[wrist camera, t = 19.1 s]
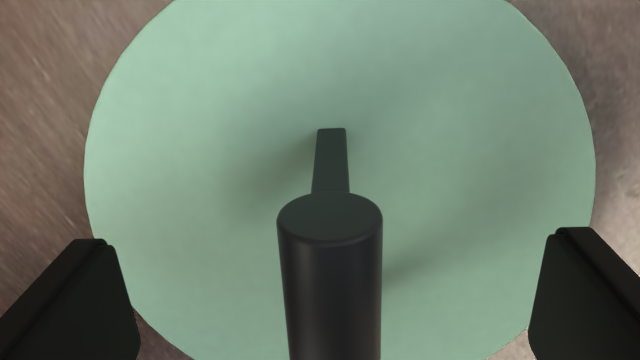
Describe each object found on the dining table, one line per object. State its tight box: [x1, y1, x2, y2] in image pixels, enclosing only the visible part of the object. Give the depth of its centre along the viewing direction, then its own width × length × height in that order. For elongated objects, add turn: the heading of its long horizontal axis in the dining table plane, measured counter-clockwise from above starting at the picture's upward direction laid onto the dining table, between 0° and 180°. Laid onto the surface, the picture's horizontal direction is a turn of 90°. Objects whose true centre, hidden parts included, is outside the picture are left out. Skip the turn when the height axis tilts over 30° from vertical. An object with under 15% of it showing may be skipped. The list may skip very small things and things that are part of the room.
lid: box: [83, 0, 596, 360], centre depth 10 cm, size 14×14×6 cm
